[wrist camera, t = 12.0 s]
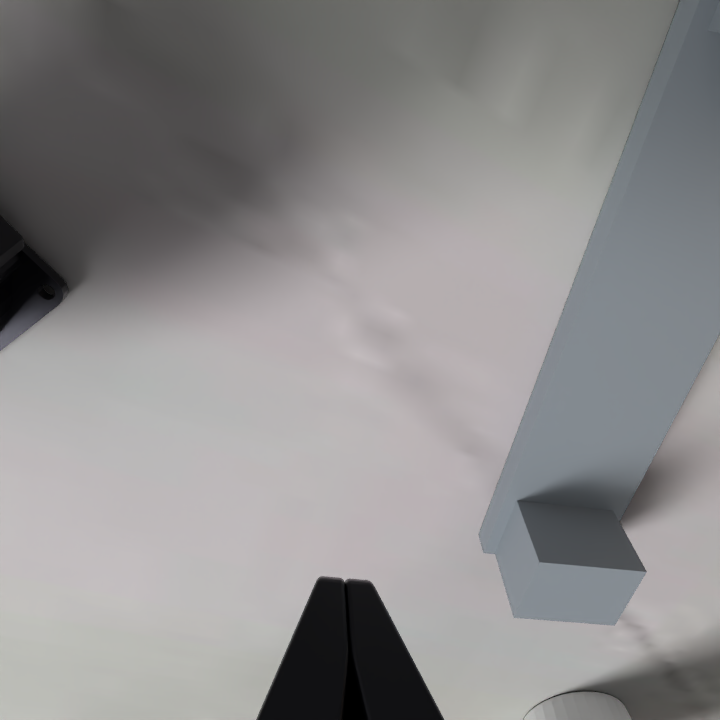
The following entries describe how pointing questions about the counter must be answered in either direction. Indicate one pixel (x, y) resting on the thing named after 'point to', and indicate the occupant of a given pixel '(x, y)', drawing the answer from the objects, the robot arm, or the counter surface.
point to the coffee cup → (580, 708)
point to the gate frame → (620, 349)
